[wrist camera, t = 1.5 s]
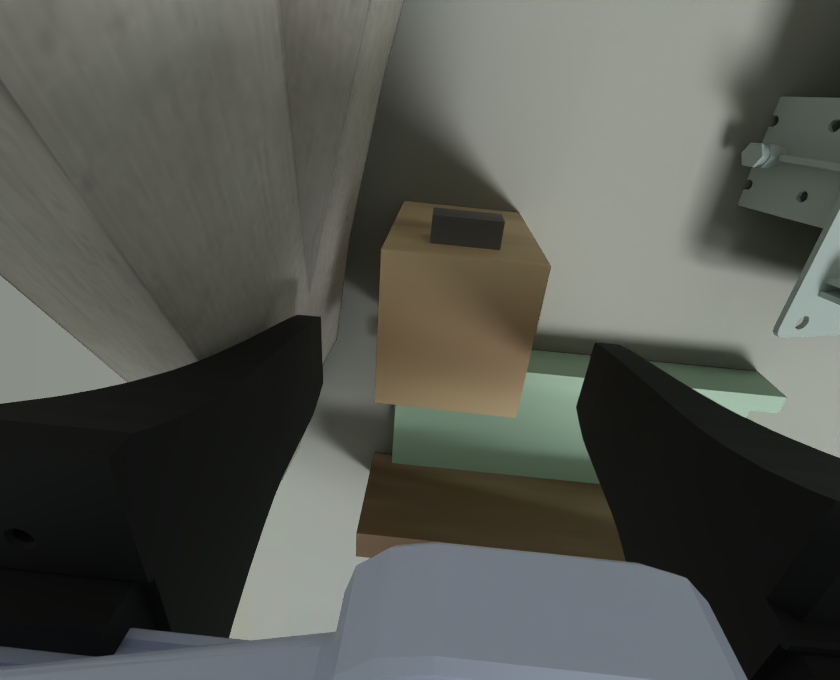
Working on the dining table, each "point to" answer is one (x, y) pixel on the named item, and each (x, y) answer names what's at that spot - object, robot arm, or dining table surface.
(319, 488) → the dining table surface
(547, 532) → the wall board
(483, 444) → the cleat ledge
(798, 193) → the metal bracket
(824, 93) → the dining table surface
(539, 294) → the cabinet block
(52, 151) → the white letter a
